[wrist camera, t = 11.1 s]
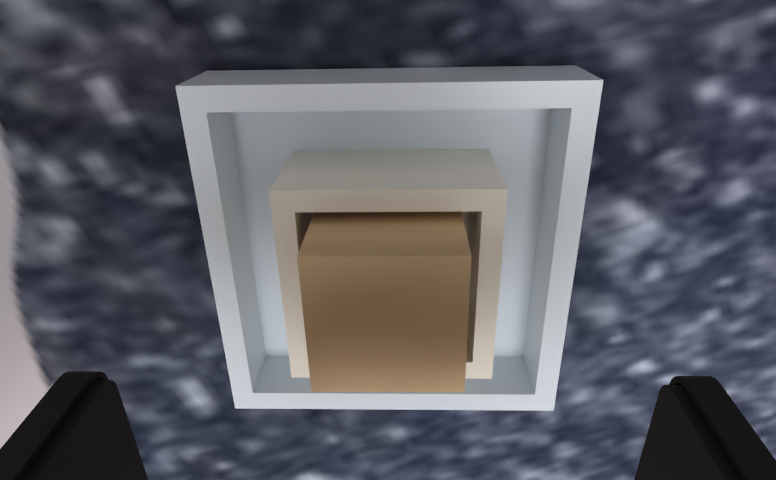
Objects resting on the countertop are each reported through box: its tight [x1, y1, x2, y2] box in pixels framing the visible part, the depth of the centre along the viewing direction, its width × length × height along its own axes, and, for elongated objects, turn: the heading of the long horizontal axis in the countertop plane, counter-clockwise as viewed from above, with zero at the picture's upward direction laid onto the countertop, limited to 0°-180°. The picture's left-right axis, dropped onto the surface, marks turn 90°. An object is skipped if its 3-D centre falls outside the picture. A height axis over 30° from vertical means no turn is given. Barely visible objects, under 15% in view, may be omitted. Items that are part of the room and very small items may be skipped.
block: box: [297, 212, 472, 392], centre depth 15 cm, size 4×4×4 cm
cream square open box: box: [269, 149, 508, 379], centre depth 17 cm, size 6×6×4 cm
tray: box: [175, 65, 603, 411], centre depth 17 cm, size 11×11×2 cm
